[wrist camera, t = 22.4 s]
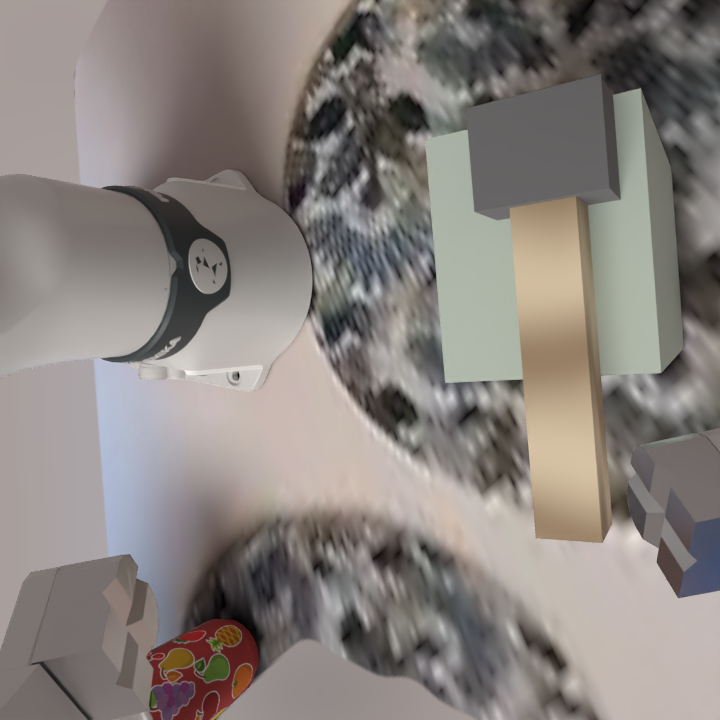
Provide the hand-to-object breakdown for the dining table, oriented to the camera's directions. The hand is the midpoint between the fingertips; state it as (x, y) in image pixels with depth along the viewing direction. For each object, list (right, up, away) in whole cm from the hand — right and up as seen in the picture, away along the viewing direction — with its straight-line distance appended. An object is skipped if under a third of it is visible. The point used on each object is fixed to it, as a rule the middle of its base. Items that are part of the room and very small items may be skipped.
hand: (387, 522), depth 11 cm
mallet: (+8, +4, +17) cm, 19 cm away
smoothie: (-12, -24, +50) cm, 57 cm away
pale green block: (+15, +9, +32) cm, 37 cm away
